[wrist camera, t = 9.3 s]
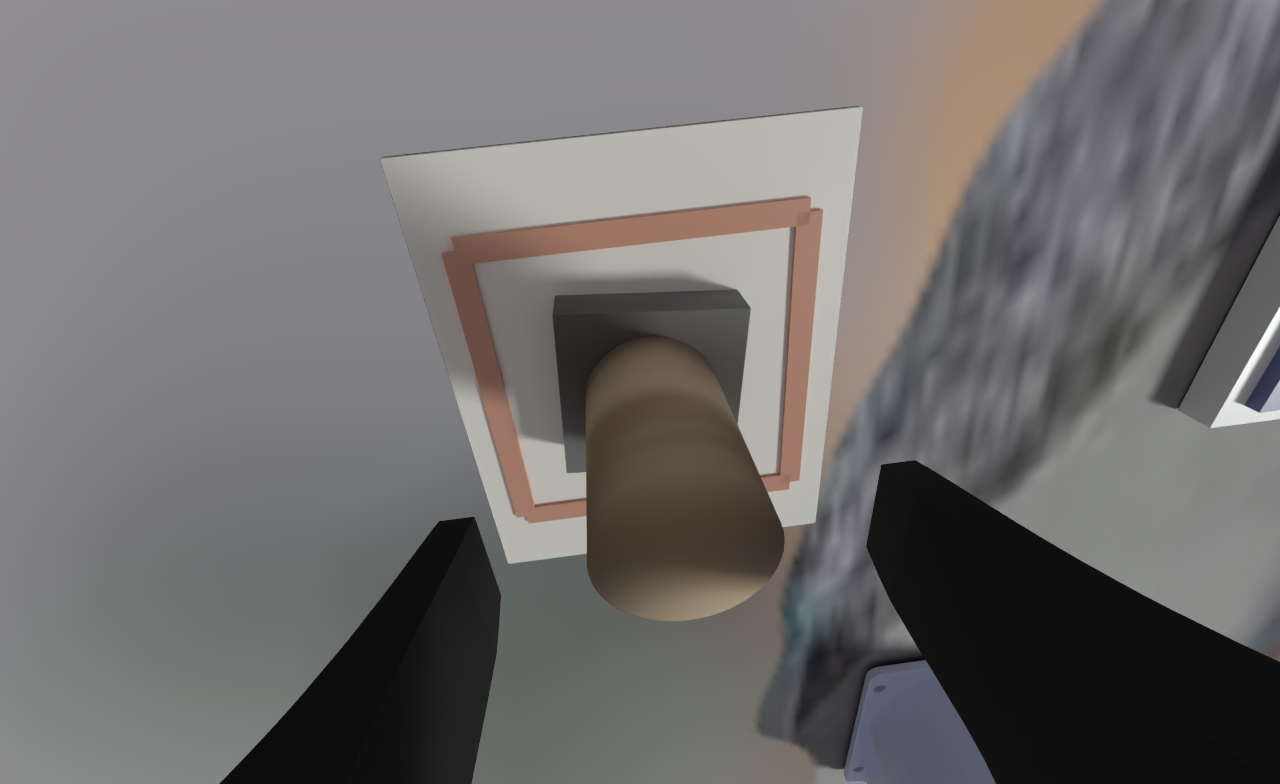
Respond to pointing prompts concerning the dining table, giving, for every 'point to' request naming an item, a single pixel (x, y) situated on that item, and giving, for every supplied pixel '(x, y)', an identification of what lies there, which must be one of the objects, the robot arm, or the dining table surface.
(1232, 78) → the dining table surface
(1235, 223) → the dining table surface
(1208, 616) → the dining table surface
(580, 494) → the sheet
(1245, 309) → the ink pad
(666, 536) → the stamp
